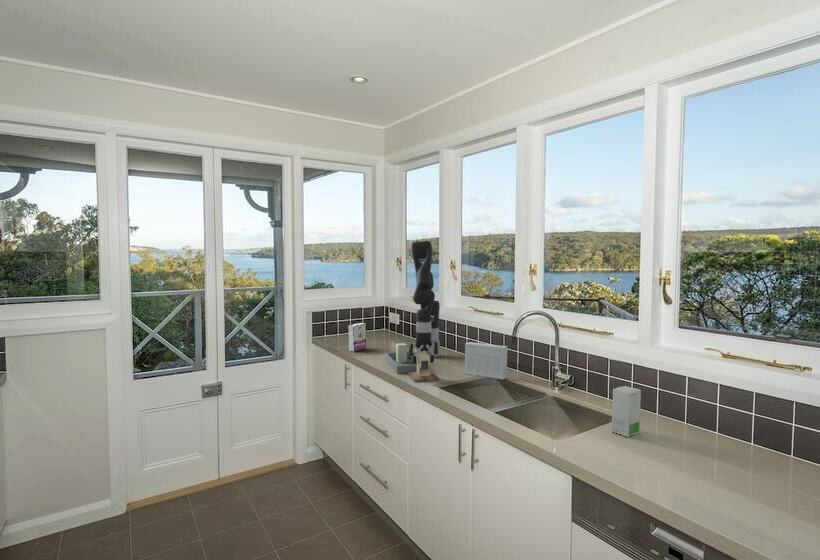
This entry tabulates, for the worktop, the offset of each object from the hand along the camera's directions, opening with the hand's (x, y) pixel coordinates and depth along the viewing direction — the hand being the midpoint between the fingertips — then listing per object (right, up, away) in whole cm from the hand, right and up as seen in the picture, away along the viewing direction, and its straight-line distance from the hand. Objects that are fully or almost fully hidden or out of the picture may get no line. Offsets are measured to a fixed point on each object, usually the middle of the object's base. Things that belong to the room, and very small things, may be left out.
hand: (423, 362), depth 226 cm
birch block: (0, -6, 0) cm, 6 cm away
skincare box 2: (+69, -13, -64) cm, 95 cm away
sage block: (-11, -5, +32) cm, 34 cm away
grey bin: (-9, -6, +24) cm, 26 cm away
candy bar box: (-39, -3, +59) cm, 71 cm away
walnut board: (0, -7, 0) cm, 8 cm away
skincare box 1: (+32, -8, +6) cm, 33 cm away
